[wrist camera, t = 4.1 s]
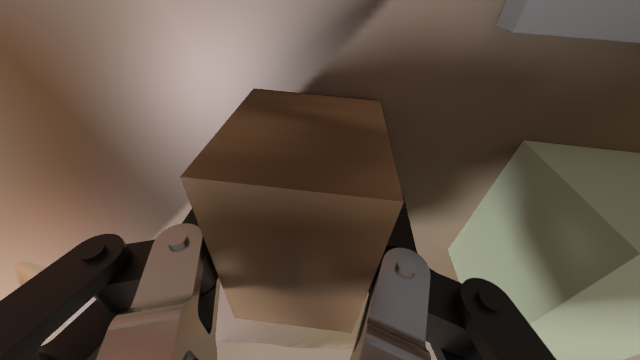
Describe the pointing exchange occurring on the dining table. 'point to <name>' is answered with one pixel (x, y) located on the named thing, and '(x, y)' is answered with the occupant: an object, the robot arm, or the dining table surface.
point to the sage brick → (563, 247)
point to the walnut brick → (297, 206)
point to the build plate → (574, 18)
